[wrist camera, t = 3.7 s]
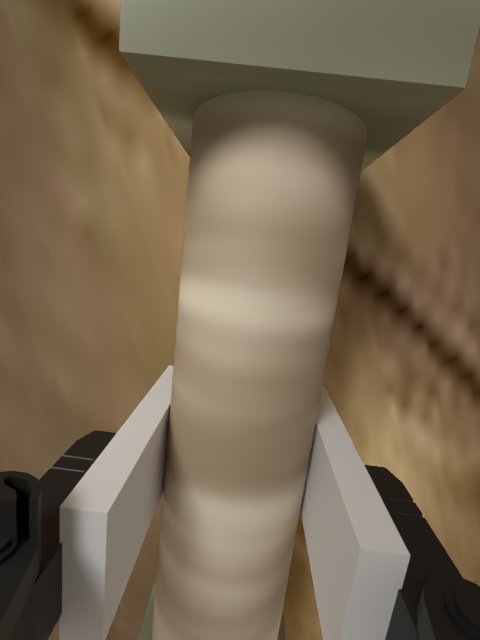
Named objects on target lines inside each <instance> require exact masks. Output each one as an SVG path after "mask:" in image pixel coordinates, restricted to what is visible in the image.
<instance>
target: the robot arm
mask: <svg viewBox="0 0 480 640" xmlns="http://www.w3.org/2000/svg"><path fill="white" fill-rule="evenodd" d="M172 377H173V366H170V365H169V366H168V368H167V369H166V370H165V371H164V373H163V374H162V375H161V377H160V378H159V379H158V380H157V382H156V383H155V384H154V386H153V387H152V388H151V390H150V391H149V392H148V393H147V395H146V396H145V397H144V399H143V400H142V401H141V402H140V404H139V405H138V406H137V408H136V409H135V410H134V411H133V413H132V414H131V415H130V417H129V418H128V419H127V421H126V422H125V423H124V424H123V426H122V427H121V428H120V430H119V431H118V432H117V433H111V432H104V431H96V430H95V431H93V432H91V433H90V434H88V435H86V436H84V437H82V438H80V439H79V440H77V441H76V442H75V443H74V444H73V445H72V446H71V447H70V448H69V449H68V450H67V451H66V452H65V453H64V456H63V457H61V458H60V459H59V460H58V461H57V462H56V463H55V464H54V465H53V468H52V469H49V470H48V471H47V472H46V473H45V474H44V475H43V476H42V478H41V479H40V480H39V481H38V479H37V478H35V477H33V476H32V475H30V474H28V473H24V472H17V471H6V472H0V640H47V639H48V638H49V636H50V634H51V632H52V630H53V628H54V626H55V625H56V623H57V621H58V619H59V640H105V639H106V637H107V634H108V632H109V629H110V626H111V624H112V621H113V619H114V616H115V614H116V611H117V608H118V606H119V603H120V601H121V598H122V596H123V593H124V590H125V588H126V585H127V583H128V580H129V578H130V575H131V573H132V570H133V567H134V565H135V562H136V560H137V557H138V555H139V552H140V549H141V547H142V544H143V542H144V539H145V537H146V534H147V531H148V529H149V526H150V524H151V521H152V519H153V516H154V513H155V511H156V508H157V506H158V503H159V501H160V498H161V496H162V493H163V489H164V477H165V464H166V452H167V439H168V427H169V414H170V402H171V389H172ZM301 516H302V522H303V528H304V534H305V539H306V545H307V551H308V557H309V563H310V568H311V574H312V580H313V586H314V592H315V597H316V603H317V609H318V615H319V621H320V626H321V632H322V638H323V640H480V587H479V586H478V585H476V584H475V583H473V582H470V581H468V580H466V579H463V577H462V576H461V574H460V573H459V571H458V570H457V568H456V566H455V565H454V563H453V562H452V560H451V559H450V557H449V555H448V554H447V552H446V551H445V549H444V548H443V546H442V544H441V543H440V541H439V540H438V538H437V537H436V535H435V533H434V532H433V530H432V529H431V527H430V526H429V524H428V522H427V521H426V519H425V518H423V517H422V513H421V511H420V510H419V508H418V507H417V505H416V504H415V503H413V499H412V497H411V496H410V494H409V493H408V491H407V489H406V488H405V486H404V485H403V483H402V482H401V481H400V480H399V479H398V478H396V477H395V476H394V475H393V474H392V473H391V472H390V471H388V470H387V469H386V468H384V467H377V466H369V465H364V464H363V462H362V460H361V458H360V456H359V454H358V452H357V450H356V448H355V446H354V444H353V442H352V440H351V438H350V436H349V434H348V432H347V430H346V428H345V426H344V424H343V422H342V420H341V419H340V417H339V415H338V413H337V411H336V409H335V407H334V405H333V403H332V401H331V399H330V397H329V395H328V393H327V391H326V389H325V387H324V385H323V387H322V392H321V398H320V403H319V409H318V415H317V420H316V426H315V431H314V437H313V443H312V448H311V454H310V459H309V465H308V471H307V476H306V482H305V487H304V493H303V499H302V504H301Z"/></svg>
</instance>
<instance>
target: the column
mask: <svg viewBox="0 0 480 640" xmlns="http://www.w3.org/2000/svg"><path fill="white" fill-rule="evenodd" d="M479 27H480V0H121V11H120V38H119V52H120V54H121V55H122V57H123V58H124V60H125V61H126V63H127V64H128V66H129V67H130V69H131V70H132V71H133V73H134V74H135V76H136V77H137V79H138V80H139V82H140V83H141V85H142V86H143V88H144V89H145V91H146V92H147V94H148V95H149V97H150V98H151V100H152V101H153V103H154V104H155V106H156V107H157V109H158V110H159V112H160V113H161V115H162V116H163V118H164V119H165V121H166V122H167V124H168V125H169V127H170V128H171V130H172V131H173V133H174V134H175V136H176V137H177V139H178V140H179V142H180V143H181V145H182V146H183V148H184V149H185V151H186V152H187V153H188V155H190V164H189V177H188V189H187V202H186V214H185V227H184V239H183V252H182V264H181V277H180V289H179V302H178V314H177V327H176V339H175V352H174V364H173V377H172V389H171V402H170V414H169V427H168V439H167V452H166V464H165V477H164V489H163V502H162V514H161V527H160V539H159V552H158V564H157V577H156V583H155V584H154V587H153V590H152V593H151V597H150V600H149V603H148V606H147V609H146V613H145V616H144V619H143V622H142V626H141V629H140V632H139V635H138V639H137V640H285V632H284V619H283V605H284V600H285V594H286V588H287V583H288V577H289V572H290V566H291V560H292V555H293V549H294V544H295V538H296V532H297V527H298V521H299V515H300V510H301V504H302V499H303V493H304V487H305V482H306V476H307V471H308V465H309V459H310V454H311V448H312V443H313V437H314V431H315V426H316V420H317V415H318V409H319V403H320V398H321V392H322V387H323V381H324V375H325V370H326V364H327V359H328V353H329V347H330V342H331V336H332V331H333V325H334V319H335V314H336V308H337V303H338V297H339V291H340V286H341V280H342V275H343V269H344V263H345V258H346V252H347V247H348V241H349V235H350V230H351V224H352V219H353V213H354V207H355V202H356V196H357V191H358V185H359V179H360V174H361V171H362V170H363V169H365V168H366V167H367V166H368V165H370V164H371V163H372V162H373V161H375V160H376V159H377V158H378V157H380V156H381V155H382V154H383V153H385V152H386V151H387V150H389V149H390V148H391V147H392V146H394V145H395V144H396V143H397V142H399V141H400V140H401V139H402V138H404V137H405V136H406V135H407V134H409V133H410V132H411V131H412V130H414V129H415V128H416V127H417V126H419V125H420V124H421V123H422V122H424V121H425V120H426V119H427V118H429V117H430V116H431V115H432V114H434V113H435V112H436V111H437V110H439V109H440V108H441V107H442V106H444V105H445V104H446V103H447V102H449V101H450V100H451V99H452V98H454V97H455V96H456V95H457V94H459V93H460V92H461V91H462V90H464V89H465V88H466V84H467V80H468V75H469V71H470V66H471V62H472V58H473V53H474V49H475V45H476V40H477V36H478V31H479Z"/></svg>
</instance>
